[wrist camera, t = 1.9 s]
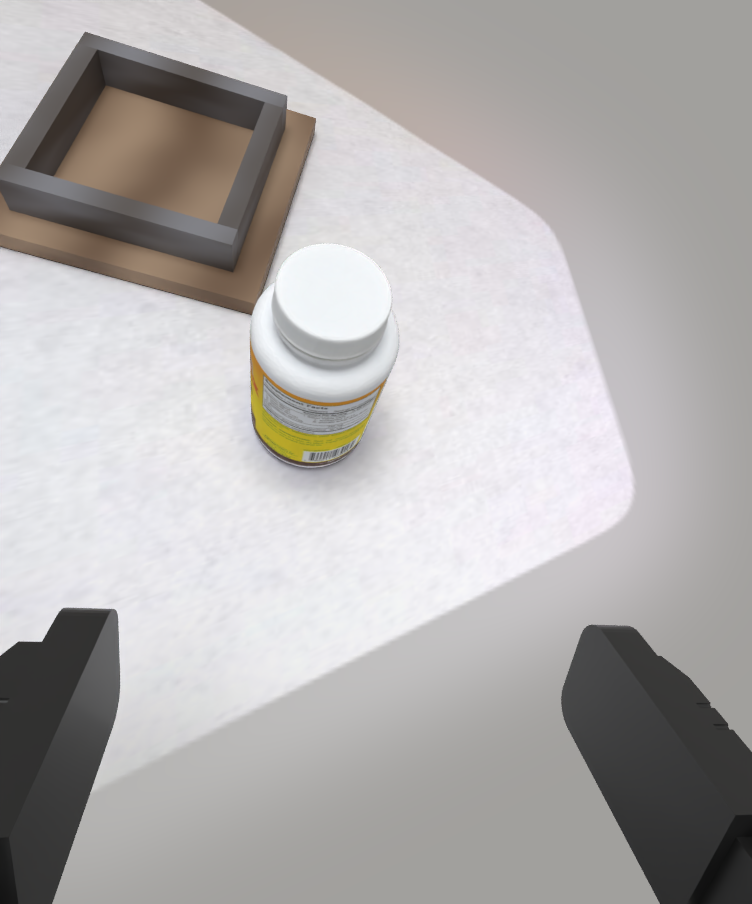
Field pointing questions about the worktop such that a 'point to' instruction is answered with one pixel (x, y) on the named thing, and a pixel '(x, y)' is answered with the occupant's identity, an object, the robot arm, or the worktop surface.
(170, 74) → the collar base
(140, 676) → the worktop surface
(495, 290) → the worktop surface
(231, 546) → the worktop surface
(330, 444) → the supplement bottle
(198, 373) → the worktop surface
